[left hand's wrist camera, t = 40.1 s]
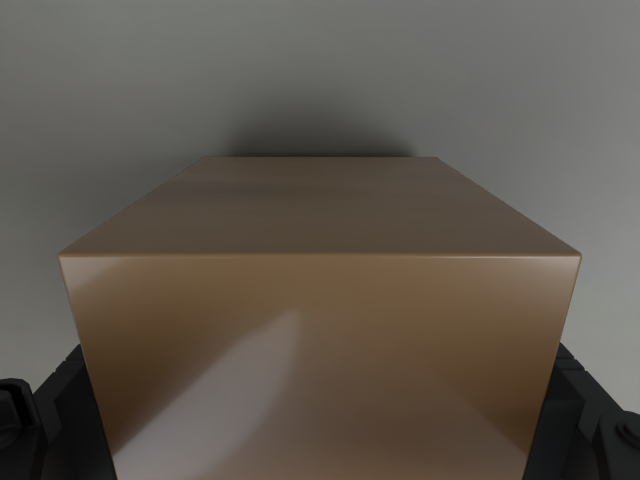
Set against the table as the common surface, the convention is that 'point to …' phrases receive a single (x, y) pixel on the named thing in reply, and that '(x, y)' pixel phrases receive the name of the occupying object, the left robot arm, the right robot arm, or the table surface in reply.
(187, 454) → the block
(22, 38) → the table surface
